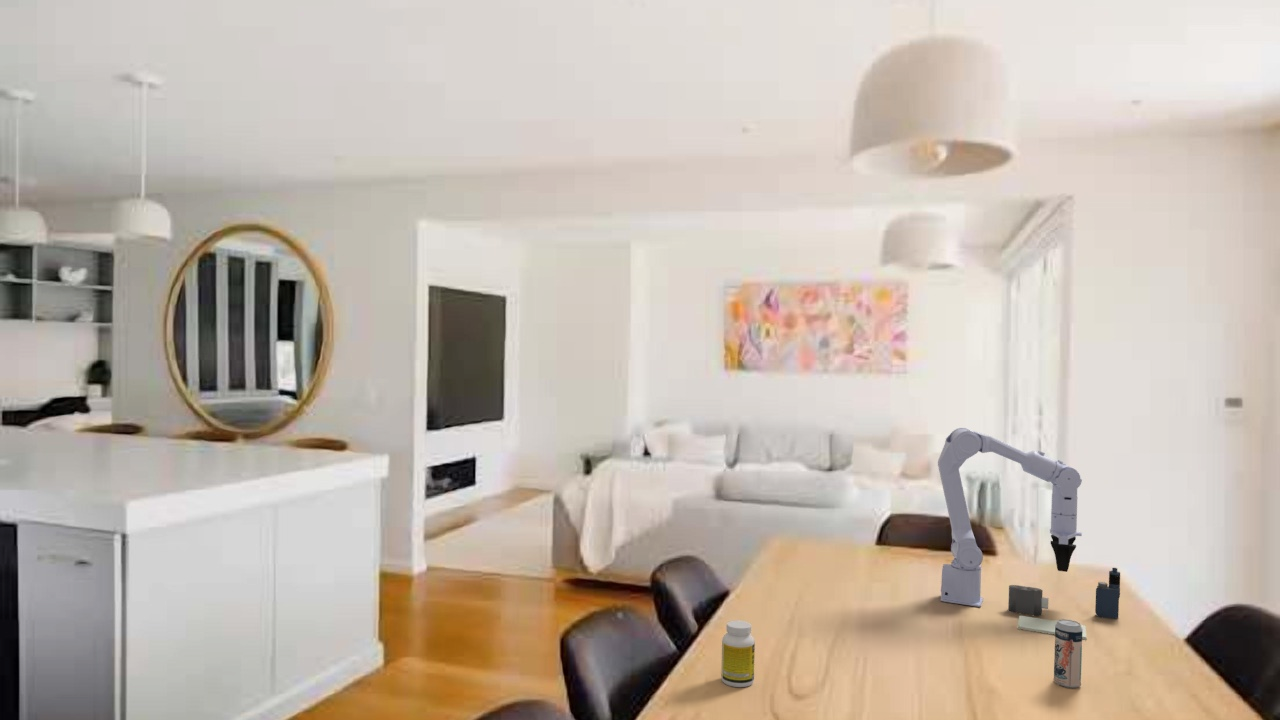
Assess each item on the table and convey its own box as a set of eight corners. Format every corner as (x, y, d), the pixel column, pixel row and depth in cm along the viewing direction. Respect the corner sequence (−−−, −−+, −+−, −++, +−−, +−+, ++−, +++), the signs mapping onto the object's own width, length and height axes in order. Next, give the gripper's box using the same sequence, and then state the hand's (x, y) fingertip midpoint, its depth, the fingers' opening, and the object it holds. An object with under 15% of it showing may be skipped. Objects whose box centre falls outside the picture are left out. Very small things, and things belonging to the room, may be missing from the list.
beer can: (1048, 679, 162) (1050, 618, 161) (1071, 679, 162) (1073, 618, 162) (1062, 689, 157) (1064, 627, 157) (1086, 689, 157) (1088, 626, 157)
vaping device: (1120, 619, 200) (1122, 570, 200) (1097, 617, 201) (1098, 568, 201) (1117, 615, 202) (1118, 567, 202) (1093, 614, 203) (1095, 565, 203)
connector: (1007, 611, 204) (1008, 587, 204) (1008, 608, 207) (1009, 584, 207) (1047, 617, 200) (1048, 593, 200) (1048, 613, 203) (1048, 589, 203)
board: (1017, 628, 191) (1017, 626, 191) (1019, 617, 199) (1019, 615, 199) (1086, 639, 185) (1086, 637, 185) (1085, 628, 193) (1085, 625, 193)
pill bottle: (758, 687, 155) (760, 628, 155) (727, 689, 154) (728, 630, 153) (747, 674, 161) (748, 618, 161) (717, 676, 160) (718, 619, 159)
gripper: (1082, 520, 198) (1081, 576, 199) (1081, 510, 211) (1079, 563, 212) (1050, 517, 202) (1048, 572, 202) (1050, 507, 215) (1049, 559, 215)
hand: (1062, 567), depth 207 cm, fingers open, 7 cm apart
